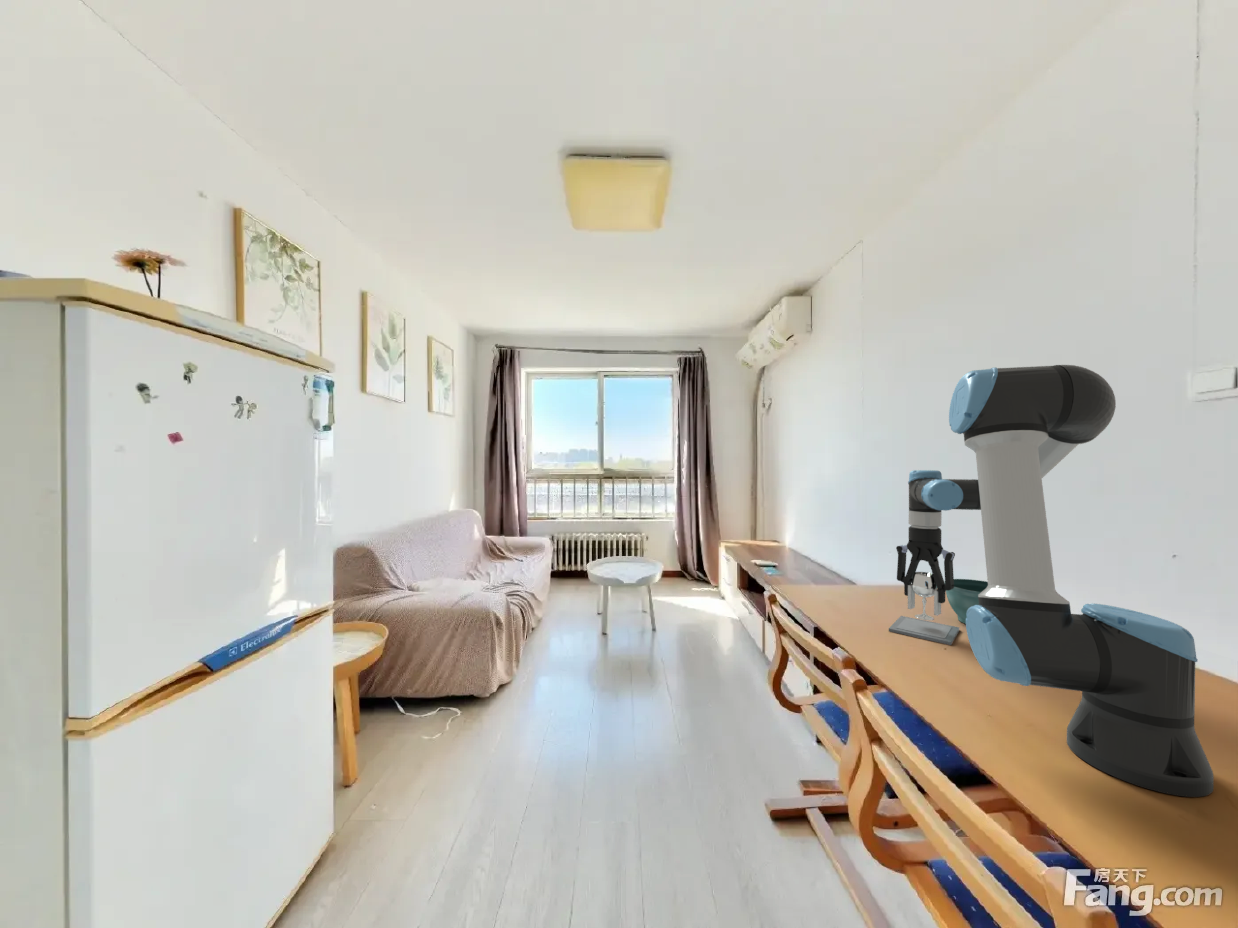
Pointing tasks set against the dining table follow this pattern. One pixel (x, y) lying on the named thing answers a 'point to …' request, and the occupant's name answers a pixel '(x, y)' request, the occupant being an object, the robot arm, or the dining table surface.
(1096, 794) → the dining table surface
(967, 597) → the flower pot
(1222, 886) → the dining table surface
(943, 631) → the coaster
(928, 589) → the wineglass
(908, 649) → the dining table surface
